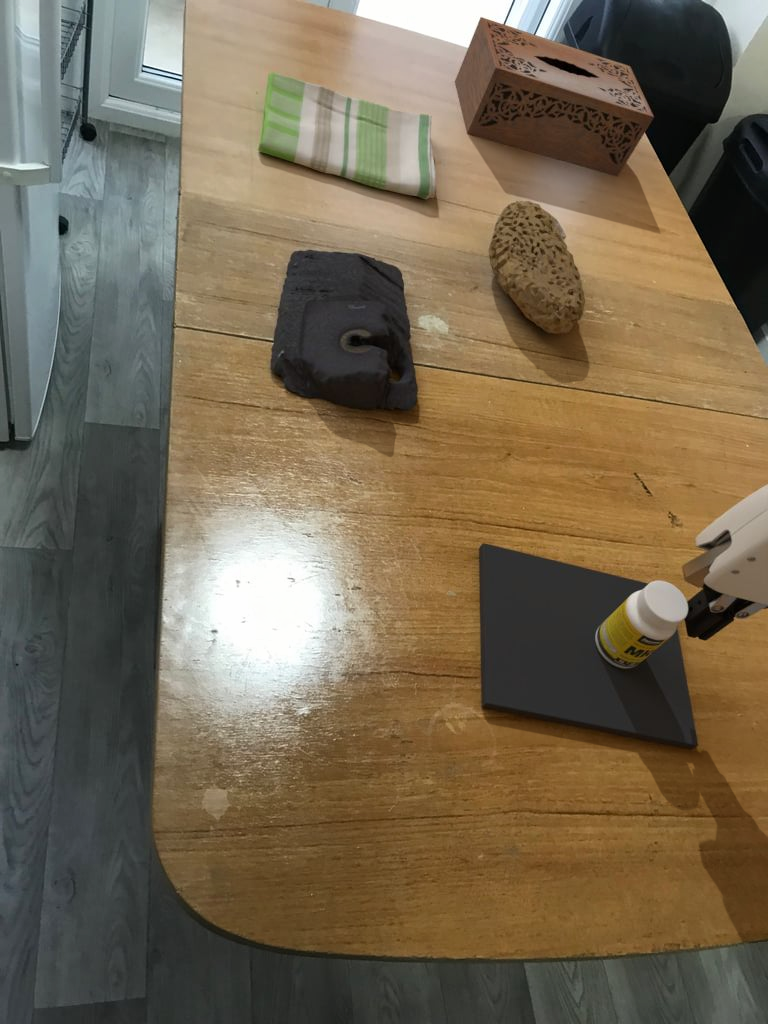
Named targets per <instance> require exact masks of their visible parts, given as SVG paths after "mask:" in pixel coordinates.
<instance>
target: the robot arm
mask: <svg viewBox="0 0 768 1024" xmlns="http://www.w3.org/2000/svg"><path fill="white" fill-rule="evenodd" d="M694 543H695V548H697V549H702V550H705V552H703V553H702V554H699V555H698V556H696V557H694V558H693V559H691V560H689V561H687V562H685V563H684V564H683V565H682V566H681V569H682V574H683V579H684V582H685V583H688V584H690V585H692V586H694V587H695V588H698V589H700V588H701V590H700V591H698V592H697V593H696V594H695V595H693V596H692V597H691V598H690V599H688V600H687V603H688V614H687V616H686V618H685V619H684V620H683V621H684V624H685V630H686V635H687V637H688V638H691V639H692V638H693V639H696V638H697V639H698V640H701V641H708V640H709V639H711V638H712V637H713V636H715V635H716V634H717V633H719V632H721V631H722V630H723V629H724V628H726V627H727V626H729V625H730V624H731V623H732V622H734V621H735V619H737V620H744V619H747V618H750V617H751V616H753V615H755V614H757V613H759V612H760V611H762V610H767V609H768V483H767V484H765V485H763V486H762V487H760V488H758V489H757V490H756V491H754V492H752V493H751V494H749V495H747V496H745V498H743V499H741V500H740V501H739V502H737V503H735V504H734V505H733V506H732V507H730V508H729V509H728V510H727V511H725V512H723V514H721V515H720V516H719V517H717V518H716V519H715V520H713V521H712V522H711V523H710V524H709V525H708V526H706V527H705V528H704V529H703V530H702V531H701V532H700V533H698V535H696V537H695V539H694Z"/></svg>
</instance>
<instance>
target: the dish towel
mask: <svg viewBox="0 0 768 1024" xmlns="http://www.w3.org/2000/svg"><path fill="white" fill-rule="evenodd" d="M267 77H268V78H267V83H266V91H265V92H266V93H265V101H264V102H265V103H264V109H263V115H262V128H261V134H260V140H259V144H258V148H257V151H258V152H259V153H263V154H265V155H266V154H267V155H269V156H271V157H276V158H278V159H282V160H285V161H288V162H291V163H294V164H297V165H301V166H304V167H307V168H310V169H312V170H315V171H318V172H321V173H325V174H330V175H335V176H337V177H342V178H345V179H348V180H350V181H353V182H356V183H360V184H362V185H365V186H368V187H372V188H375V189H379V190H382V191H389V192H393V193H394V192H395V193H398V194H401V195H406V196H414V197H418V198H420V199H423V200H428V199H430V198H431V199H432V198H434V197H435V196H436V192H437V191H436V190H437V174H436V173H437V172H436V168H435V167H436V166H435V160H434V151H433V142H432V117H433V116H431V115H430V114H426V113H425V114H424V113H414V112H408V111H405V110H398V109H392V108H390V107H387V106H384V105H383V104H382V105H381V104H379V103H375V102H373V101H369V100H364V99H360V98H355V97H350V96H347V95H344V94H341V93H339V92H337V91H335V90H332V89H331V88H327V87H325V86H323V85H320V84H319V85H318V84H315V83H312V82H311V83H310V82H307V81H304V80H301V79H297V78H295V77H291V76H288V75H287V76H286V75H283V74H279V73H277V72H274V71H271V72H269V74H268V76H267Z"/></svg>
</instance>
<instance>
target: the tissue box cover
mask: <svg viewBox="0 0 768 1024" xmlns="http://www.w3.org/2000/svg"><path fill="white" fill-rule="evenodd" d="M454 83H455V89H456V92H457V97H458V101H459V106H460V109H461V113H462V118H463V123H464V126H465V131H466V134H468V135H471V136H474V137H479V138H482V139H486V140H489V141H493V142H496V143H499V144H502V145H507V146H510V147H514V148H517V149H521V150H524V151H528V152H531V153H536V154H539V155H542V156H546V157H548V158H549V157H550V158H553V159H557V160H560V161H563V162H566V163H571V164H574V165H578V166H581V167H585V168H587V169H592V170H595V171H598V172H602V173H607V174H609V175H613V176H617V177H619V175H620V174H621V172H622V171H623V169H624V167H625V166H626V164H627V162H628V161H629V159H630V157H631V155H632V154H633V152H634V151H635V149H636V147H637V146H638V145H639V142H640V141H641V140H642V138H643V136H644V134H645V133H646V131H647V130H648V128H649V127H650V125H651V123H652V122H653V120H654V118H655V116H654V114H653V112H652V110H651V108H650V105H649V103H648V101H647V99H646V97H645V95H644V93H643V91H642V89H641V86H640V84H639V82H638V80H637V78H636V75H635V73H634V71H633V69H632V67H631V66H630V65H628V64H625V63H622V62H618V61H615V60H612V59H609V58H606V57H604V56H600V55H597V54H594V53H591V52H589V51H585V50H582V49H579V48H576V47H572V46H570V45H567V44H563V43H561V42H558V41H555V40H551V39H549V38H546V37H543V36H540V35H537V34H534V33H530V32H529V31H528V32H527V31H525V30H521V29H519V28H515V27H512V26H509V25H506V24H504V23H500V22H497V21H494V20H491V19H489V18H485V17H482V16H480V18H479V20H478V23H477V25H476V28H475V29H474V33H473V35H472V37H471V40H470V43H469V45H468V48H467V50H466V52H465V55H464V58H463V60H462V62H461V66H460V67H459V70H458V72H457V75H456V78H455V80H454Z"/></svg>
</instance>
